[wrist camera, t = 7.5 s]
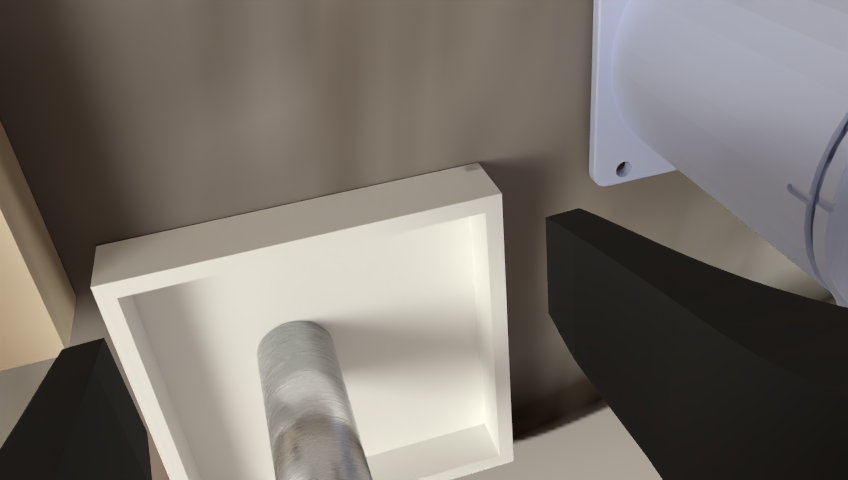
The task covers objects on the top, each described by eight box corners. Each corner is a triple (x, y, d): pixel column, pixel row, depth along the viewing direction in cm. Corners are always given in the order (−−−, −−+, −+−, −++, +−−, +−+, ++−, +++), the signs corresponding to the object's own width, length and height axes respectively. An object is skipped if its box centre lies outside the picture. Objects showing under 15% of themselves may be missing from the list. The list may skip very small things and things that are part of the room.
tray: (478, 162, 23) (502, 193, 21) (493, 421, 29) (513, 461, 27) (96, 246, 21) (90, 287, 19) (198, 505, 27) (200, 553, 25)
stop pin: (323, 311, 24) (384, 524, 17) (340, 366, 25) (403, 583, 19) (246, 335, 23) (279, 561, 17) (268, 390, 25) (307, 619, 18)
